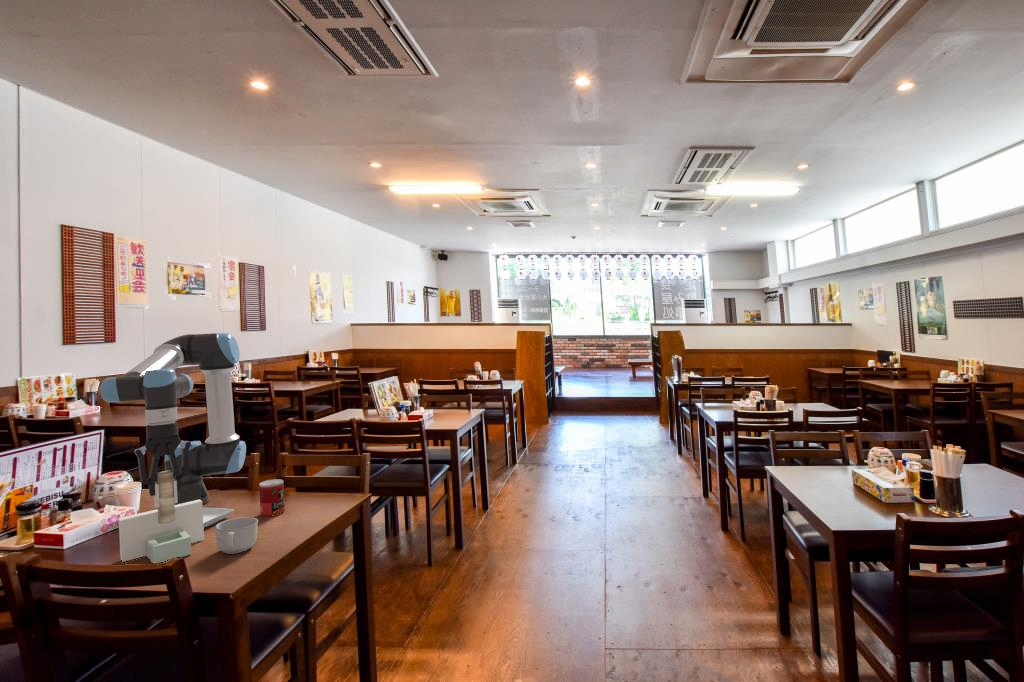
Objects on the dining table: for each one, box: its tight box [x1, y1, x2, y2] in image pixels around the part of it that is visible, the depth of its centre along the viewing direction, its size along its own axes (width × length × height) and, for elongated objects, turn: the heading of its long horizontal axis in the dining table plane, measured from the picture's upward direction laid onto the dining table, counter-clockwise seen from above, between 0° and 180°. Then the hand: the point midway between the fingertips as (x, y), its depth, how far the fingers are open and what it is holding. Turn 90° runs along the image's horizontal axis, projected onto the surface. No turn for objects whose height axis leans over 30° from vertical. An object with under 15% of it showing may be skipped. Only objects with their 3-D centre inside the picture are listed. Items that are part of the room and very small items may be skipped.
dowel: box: [155, 470, 175, 524], centre depth 142 cm, size 4×4×14 cm
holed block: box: [146, 529, 193, 564], centre depth 141 cm, size 9×9×5 cm
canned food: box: [258, 478, 286, 517], centre depth 174 cm, size 8×8×11 cm
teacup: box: [215, 516, 259, 555], centre depth 142 cm, size 14×11×8 cm
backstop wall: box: [118, 499, 205, 563], centre depth 146 cm, size 3×20×12 cm, turn 136°
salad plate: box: [203, 506, 235, 529], centre depth 164 cm, size 21×21×3 cm
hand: (166, 504), depth 142 cm, fingers closed on dowel, 4 cm apart
